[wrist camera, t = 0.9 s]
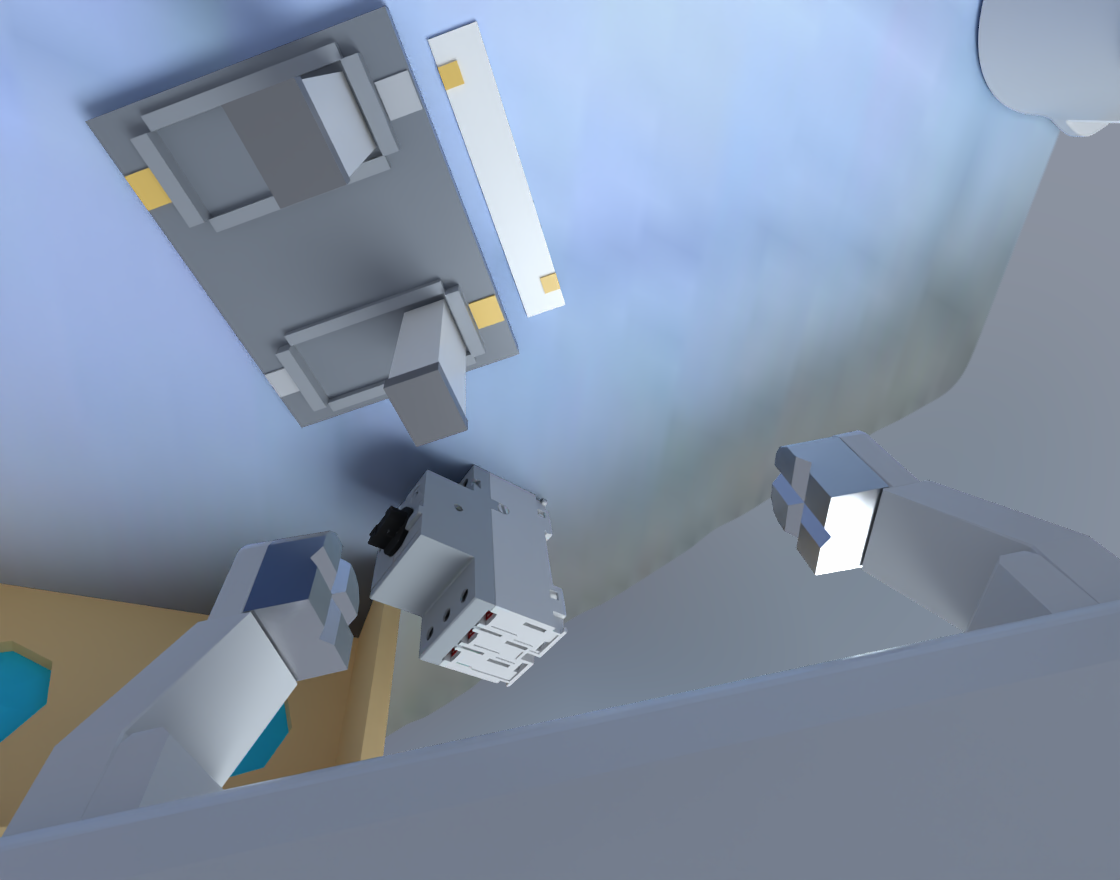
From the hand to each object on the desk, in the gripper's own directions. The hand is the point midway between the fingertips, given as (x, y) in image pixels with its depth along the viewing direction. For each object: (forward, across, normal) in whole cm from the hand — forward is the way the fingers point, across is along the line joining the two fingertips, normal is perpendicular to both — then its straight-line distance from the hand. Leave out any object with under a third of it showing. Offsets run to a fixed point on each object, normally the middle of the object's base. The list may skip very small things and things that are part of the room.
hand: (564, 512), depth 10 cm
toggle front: (+32, +8, -5) cm, 33 cm away
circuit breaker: (+34, +7, +26) cm, 43 cm away
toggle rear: (+32, +5, +9) cm, 33 cm away
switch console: (+33, +8, +2) cm, 34 cm away
